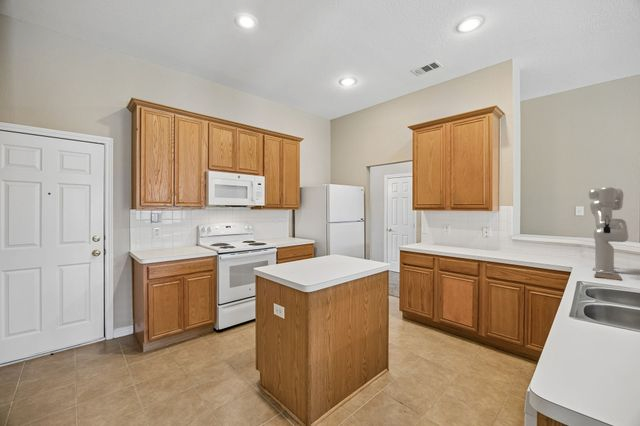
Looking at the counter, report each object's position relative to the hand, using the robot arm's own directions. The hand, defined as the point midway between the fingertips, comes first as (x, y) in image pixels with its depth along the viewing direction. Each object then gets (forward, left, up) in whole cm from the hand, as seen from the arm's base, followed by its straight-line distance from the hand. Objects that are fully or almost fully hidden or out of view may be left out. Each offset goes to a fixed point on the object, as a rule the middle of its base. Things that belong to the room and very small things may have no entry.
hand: (607, 233), depth 190 cm
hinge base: (+12, 0, -29) cm, 32 cm away
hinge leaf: (0, 0, -29) cm, 29 cm away
